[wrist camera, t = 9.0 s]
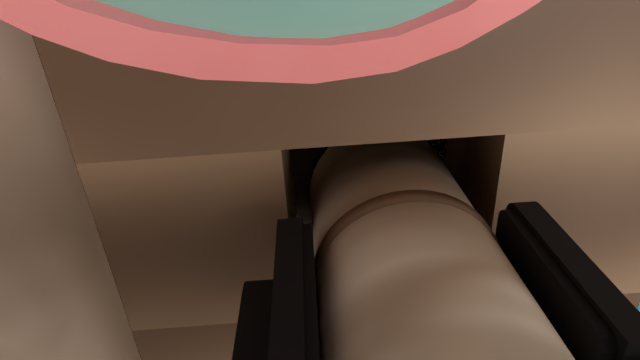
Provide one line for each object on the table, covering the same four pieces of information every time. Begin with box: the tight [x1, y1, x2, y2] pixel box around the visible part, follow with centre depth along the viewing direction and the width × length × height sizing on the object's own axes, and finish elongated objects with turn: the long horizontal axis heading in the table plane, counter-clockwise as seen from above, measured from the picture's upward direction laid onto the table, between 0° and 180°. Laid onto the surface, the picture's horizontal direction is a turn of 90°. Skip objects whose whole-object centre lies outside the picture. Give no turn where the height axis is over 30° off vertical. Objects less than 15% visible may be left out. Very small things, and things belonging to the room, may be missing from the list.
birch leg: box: [311, 140, 575, 360], centre depth 8 cm, size 4×4×12 cm
